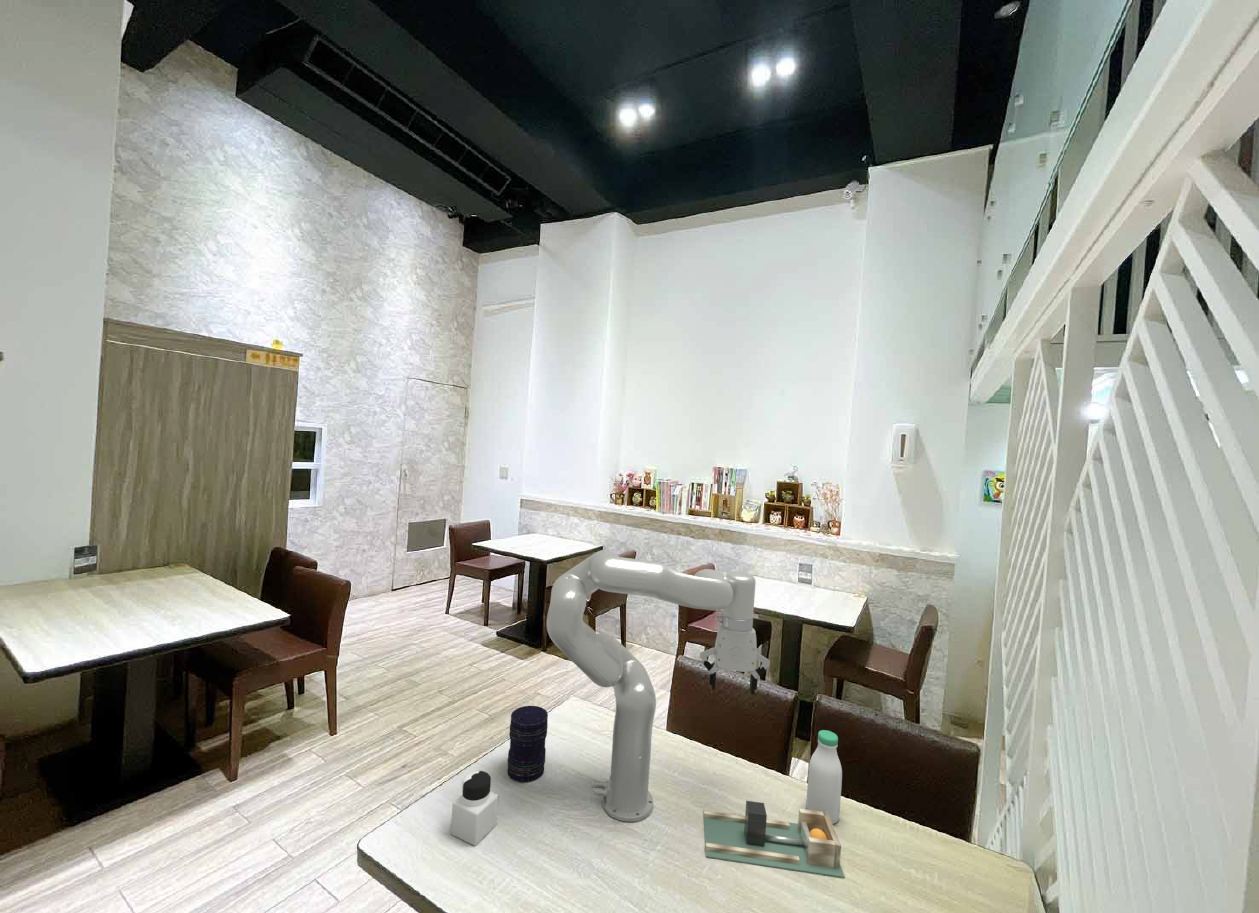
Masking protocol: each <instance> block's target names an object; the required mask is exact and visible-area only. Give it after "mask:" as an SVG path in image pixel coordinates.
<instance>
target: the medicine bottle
mask: <svg viewBox="0 0 1259 913" xmlns="http://www.w3.org/2000/svg"><path fill="white" fill-rule="evenodd" d="M491 783H492V777H491V775H490V774H489V772H487V771H484V770H475V771H472V772H469V773H467V774H466V775H465V776H464V778H463V779H462V788H461V795H460V796H458V798H456V799H455V800H454V801H452V803H451V804H452V808H451V821H450V822H451V824H450V834H451V835H452V836H454V837H457V838H458V839H460V840H462V841H465V843H468V844H470V845H472V846H474V847H475V846H477V845H478V844H479V843H480V842H481V840H483V839H484V838H485V837H486V836H487V835H488V834H490V832H492V830H493V829H494V828H496V826H497V823H498V822H497V820H498V807H499V806H498V805H499V794H497V793H495V792H493V791H491V787H492V784H491Z"/></svg>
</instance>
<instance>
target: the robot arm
mask: <svg viewBox="0 0 1259 913" xmlns="http://www.w3.org/2000/svg"><path fill="white" fill-rule="evenodd" d="M756 582H757V581H756V578H755V577H754V576H753V575H752V574H750V573H748V572H744V571H743V572H742V571H730V572H729V571H721V570H716V569H712V568H711V569H710V568H704V569H701V570H698V571H697V572H695V573H694V575H692V574H691V575H690V574H688V573H684V572H681V571H678V570H676V569H674V568H672V567H670V566H669V565H666V564H664V563H661V562H659V561H653V560H652V561H651V560H646V559H639V558H638V559H637V558H630V557H623V556H619V555H618V554H617V553H616V552H615V551H613V550H610V549H601V550H598V551H596V552H595V553H592V554H591V555H590V556H588V557H587V558H585V559H583V560H582V561H581V562H579V563H578V564H577V565H574V566H573V567H571V568H570V569H569V570H567V571H565V572H564V573H563V574H561V575H560V576H558V578H557V579H556V580H555V581H554V583H553V584H552V588H551V591H550V593H551V594H550V601H549V602H550V603H549V607H548V611H547V614H546V615H547V616H546V630H547V634H548V636H549V639H551V641H552V642H553V644H554V645H555V647H557V649H559V650H560V651H561V652H562V653H563V654H564V655H565V656H566V657H567V658H568V659H570V661H571V662H572V663H573V664H574V666H577V668H578V669H580V670H581V671H582V673H584V675H586V677H587V678H588V679H590V681H591V682H592V683H593V684H596V686H599V687H601V688H613V690H614V691H613V692H614V698H615V714H614V720H613V730H612V747H611V761H610V762H611V763H610V775H609V778H608V779H605V780H600V779H594V778H593V779H592V780H591V781H592V782H591V789H595V790H594V795H597V796H602V799H601V804H602V807H603V809H604V811H605V812H606V813H607V814H608V815H609V816H610V817H612V818H613V819H616V820H618V821H621V822H630V823H631V822H632V823H633V822H638V821H641V820H643V819H646V818H647V817H648V816H649V815H650V814H651V813H652V812H653V810H654V798H653V795H652V793H651V792H650V791H649V781H650V764H651V756H652V755H651V753H652V738H653V737H652V736H653V725H654V719H655V714H656V711H657V710H656V708H657V698H656V692H655V688H654V686H653V683H652V681H651V679H650V676H649V674H648V671H647V669H646V668H645V666H644V665H643V664H642V662H640V660H638V659H637V657H636V656H635V655H633V654H632V653H631V652H630V651H629V649H627V647H625V646H624V645H623V644H622V643H621V642H620V641H619V640H618V639H616V638H615V637H614V636H613V635H611V634H609V633H605V632H599V633H597V632H596V631H595V630H594V629H593V628H592V627H591V626H589V624H587V623H586V622H585V621H584V619H583V617H584V612H585V610H586V605H587V598H588V597H589V596H590V595H592V594H593V593H595V592H596V591H598V590H601V591H604V592H608V593H617V594H624V595H634V596H638V597H639V596H640V597H649V598H654V599H658V600H660V601H662V602H663V601H664V602H667V603H671V604H675V605H678V606H682V607H686V608H691V609H697V610H704V611H705V610H706V611H722V613H721V615H717V616H716V622H719V623H720V624H719V625H718V629H717V632H716V638H715V644H714V647H711V648H709V649H705V650H703V651H701V652H700V653H699V656H700V658H701V661H702V663H703V666H704V667H705V669H707V671H708V672H709V678H708V684H709V685H710V686H711V690H712V691H715V690H716V682H717V673H716V671H718V670H725V671H732V672H740V673H742V672H743V673H751V674H750V677H749V678H750V680H749V692H750V694H751V695H752V696H753V695H755V691H757V689H758V680H759V679H760V677H761V676H762V675H764V674H765V673H766V671H767V669H769V668H768V667H770V664H771V661H770V659H768V658H767V657H765V656H764V655H762V654H760V653H759V652H758V651H757V634H756V630H755V628H753V625H754V624H753V622H754V612H755V611H754V606H755V598H756ZM710 656H713V658H714V661H712V662H710V661H709V660H708V657H710ZM757 661H759V662H761V664H760V666H758V667H757Z"/></svg>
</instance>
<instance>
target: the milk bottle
mask: <svg viewBox="0 0 1259 913" xmlns="http://www.w3.org/2000/svg"><path fill="white" fill-rule="evenodd" d="M838 743H839V738H838V735H837V733H834V732H832V731H831V730H825V729H822V730H819V731H818V733H817V747H816V748H815V751H814V752H813V754H812V755H811V757H810V761H809V766H808V776H807V788H806V789H807V790H806V800H805V802H806V803H805V810H813V811H820V812H827V813H828V814H829V817H830V819H831V822H832V824H833V825H834V824H837V823H838V821H839V819H840V812H841V811H840V809H841V796H842V785H843V784H842V782H843V781H842V780H843V769H842V765H841V764H842V763H841V761H840V759H839V756H838V752H837V748H838Z"/></svg>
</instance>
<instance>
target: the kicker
mask: <svg viewBox="0 0 1259 913" xmlns="http://www.w3.org/2000/svg"><path fill="white" fill-rule="evenodd" d="M745 802H746V803H745V814H744V816H745V825H744V832H745V839H746V844H752V845H759V846H765V840H766V841H773V842H780V843H786V844H793V845H800V846H804V848H805V851H806V854H807V852H808V839H809V837H811V836H810V833H809V830H808V827H807V824H806V822H802V823H801V838H802V839H797V838H790V837H783V836H776V835H769V834H765V833H766V819H767V817H768V816H767V812H766V807H765V806H766V805H765V803H764V802H759V801H752V800H745Z"/></svg>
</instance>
